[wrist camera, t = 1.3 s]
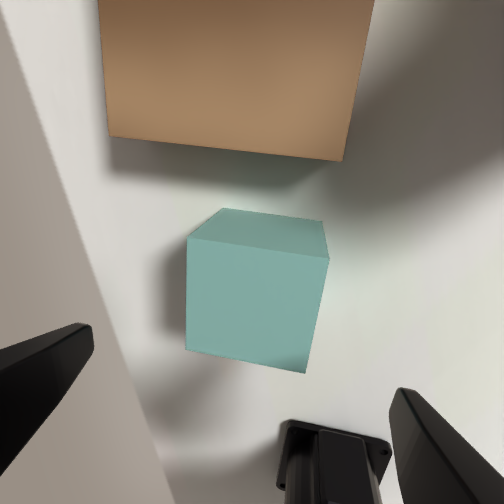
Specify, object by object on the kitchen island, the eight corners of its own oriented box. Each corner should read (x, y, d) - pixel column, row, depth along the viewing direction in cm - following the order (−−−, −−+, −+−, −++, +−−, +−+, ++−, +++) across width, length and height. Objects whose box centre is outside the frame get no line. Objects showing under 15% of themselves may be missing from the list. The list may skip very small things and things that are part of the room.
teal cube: (305, 307, 16) (305, 373, 12) (218, 292, 17) (185, 349, 12) (321, 220, 14) (329, 258, 10) (223, 207, 15) (187, 237, 10)
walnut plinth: (334, 157, 13) (341, 161, 10) (147, 136, 14) (108, 136, 11) (387, -123, 10) (420, -227, 7) (138, -121, 11) (81, -210, 8)
